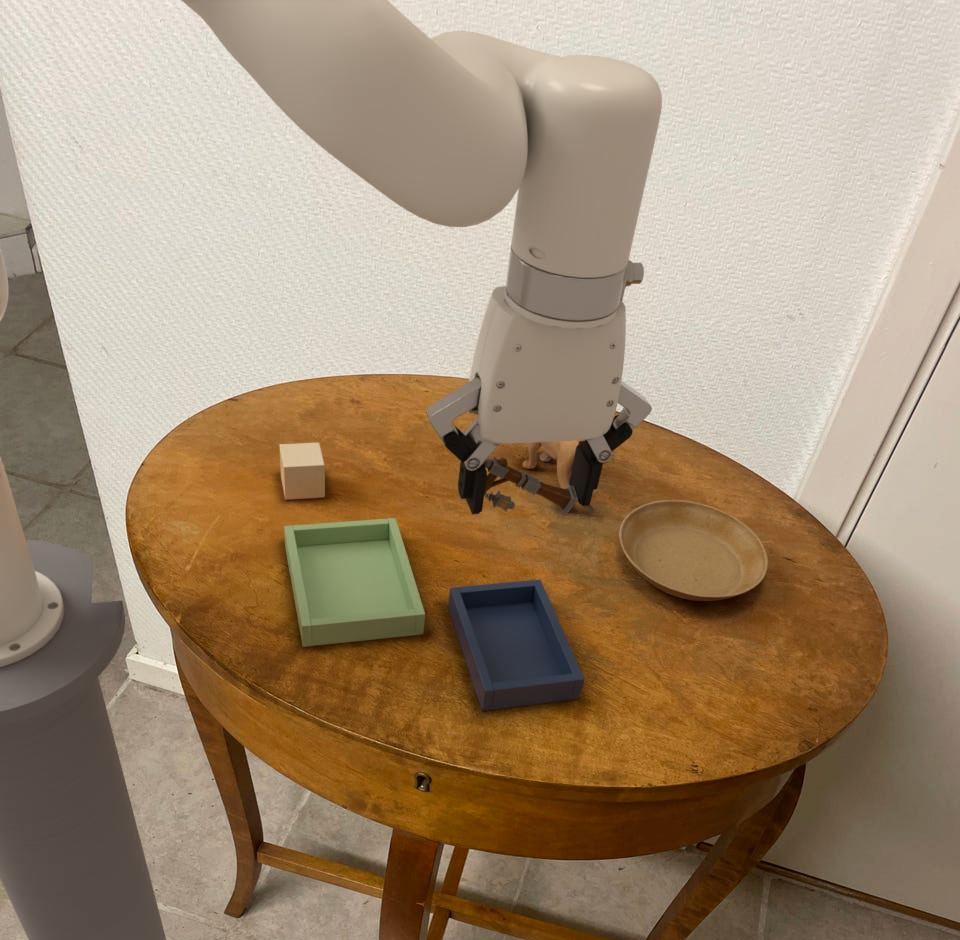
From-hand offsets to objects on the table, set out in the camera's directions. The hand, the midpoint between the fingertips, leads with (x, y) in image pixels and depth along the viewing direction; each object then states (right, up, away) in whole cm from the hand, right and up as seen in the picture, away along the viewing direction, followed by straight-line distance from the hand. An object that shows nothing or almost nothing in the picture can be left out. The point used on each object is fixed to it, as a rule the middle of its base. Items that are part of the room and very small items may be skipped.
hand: (526, 498), depth 73 cm
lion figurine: (+4, +6, +30) cm, 30 cm away
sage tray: (-15, -6, +14) cm, 21 cm away
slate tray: (-1, -12, +10) cm, 16 cm away
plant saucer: (+17, -4, +21) cm, 28 cm away
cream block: (-22, +5, +24) cm, 32 cm away
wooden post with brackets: (0, -1, +1) cm, 1 cm away
